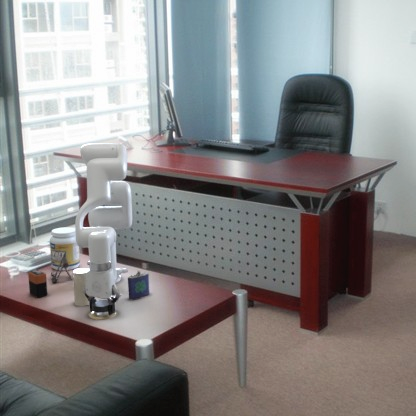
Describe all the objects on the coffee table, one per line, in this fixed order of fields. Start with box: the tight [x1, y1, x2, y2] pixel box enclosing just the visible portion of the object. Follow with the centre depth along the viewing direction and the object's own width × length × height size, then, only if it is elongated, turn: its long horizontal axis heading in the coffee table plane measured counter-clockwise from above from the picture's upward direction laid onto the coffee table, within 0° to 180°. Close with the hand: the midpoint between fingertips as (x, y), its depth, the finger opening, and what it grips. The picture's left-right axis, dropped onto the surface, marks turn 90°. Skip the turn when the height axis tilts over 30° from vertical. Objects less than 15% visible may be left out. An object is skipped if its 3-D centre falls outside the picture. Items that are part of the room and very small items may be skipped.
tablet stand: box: [50, 257, 73, 284], centre depth 281 cm, size 9×8×8 cm
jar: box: [72, 268, 90, 307], centre depth 255 cm, size 6×6×13 cm
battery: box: [27, 268, 48, 299], centre depth 263 cm, size 4×7×10 cm, turn 47°
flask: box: [127, 270, 150, 301], centre depth 263 cm, size 9×3×11 cm, turn 138°
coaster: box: [87, 309, 118, 321], centre depth 246 cm, size 10×10×1 cm
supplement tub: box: [49, 226, 81, 271], centre depth 296 cm, size 12×12×17 cm
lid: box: [92, 299, 109, 313], centre depth 245 cm, size 7×7×2 cm
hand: (102, 311), depth 246 cm, fingers closed on lid, 7 cm apart
